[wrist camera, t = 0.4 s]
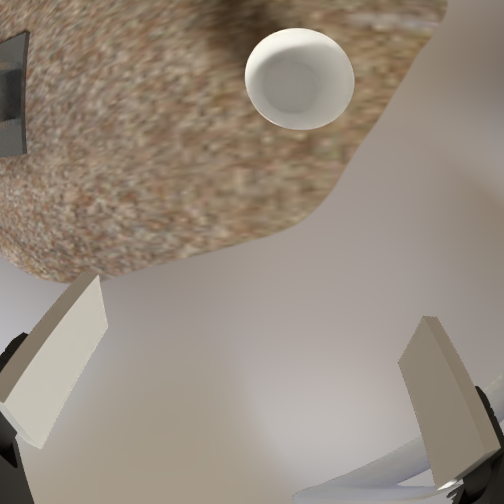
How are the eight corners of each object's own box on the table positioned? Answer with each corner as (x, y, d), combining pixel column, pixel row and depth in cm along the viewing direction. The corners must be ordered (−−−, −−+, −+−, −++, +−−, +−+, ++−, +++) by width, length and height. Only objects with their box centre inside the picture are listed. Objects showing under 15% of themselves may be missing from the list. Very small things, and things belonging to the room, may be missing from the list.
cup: (248, 118, 34) (236, 124, 23) (256, 46, 29) (249, 20, 19) (324, 129, 34) (348, 140, 23) (333, 58, 29) (362, 38, 19)
